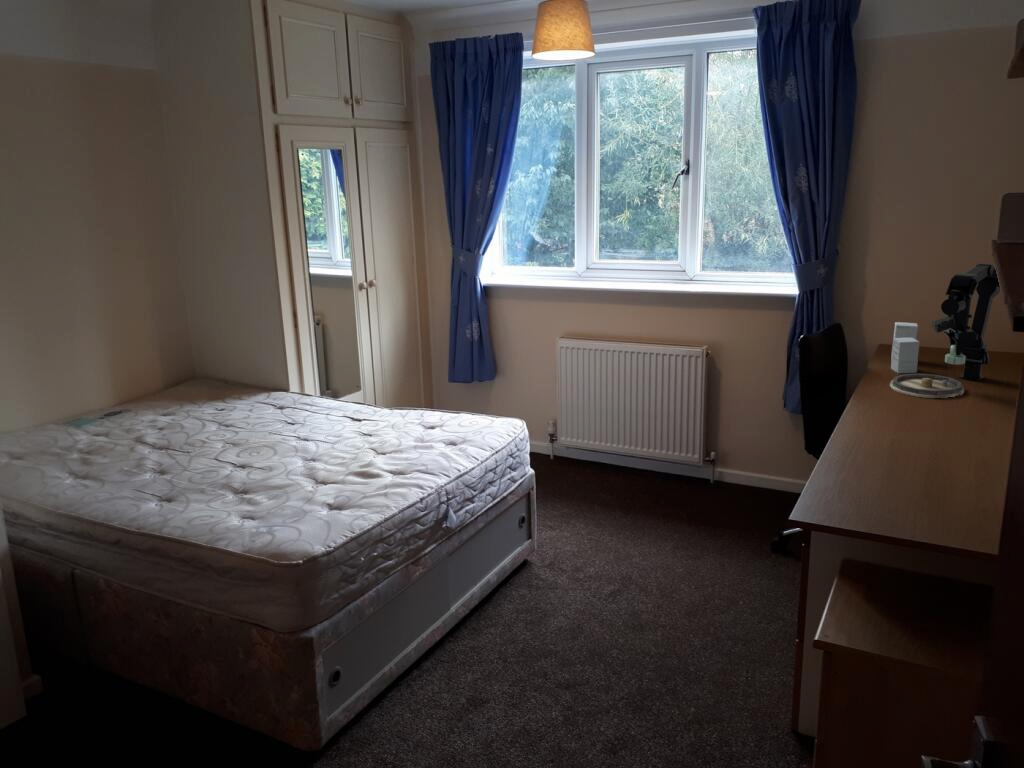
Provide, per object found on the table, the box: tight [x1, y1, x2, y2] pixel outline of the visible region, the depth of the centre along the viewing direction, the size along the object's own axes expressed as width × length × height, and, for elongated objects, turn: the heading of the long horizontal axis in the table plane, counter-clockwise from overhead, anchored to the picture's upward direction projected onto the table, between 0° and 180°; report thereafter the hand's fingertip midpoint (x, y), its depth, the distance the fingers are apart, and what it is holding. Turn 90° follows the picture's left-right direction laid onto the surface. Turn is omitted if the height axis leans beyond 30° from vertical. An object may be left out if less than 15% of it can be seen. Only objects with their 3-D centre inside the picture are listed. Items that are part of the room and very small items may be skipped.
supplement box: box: [890, 337, 920, 374], centre depth 309 cm, size 7×7×13 cm
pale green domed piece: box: [944, 345, 966, 366], centre depth 281 cm, size 6×6×6 cm
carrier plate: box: [889, 373, 965, 399], centre depth 287 cm, size 24×24×4 cm
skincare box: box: [890, 321, 919, 361], centre depth 321 cm, size 8×7×16 cm
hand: (955, 354), depth 281 cm, fingers closed on pale green domed piece, 4 cm apart
